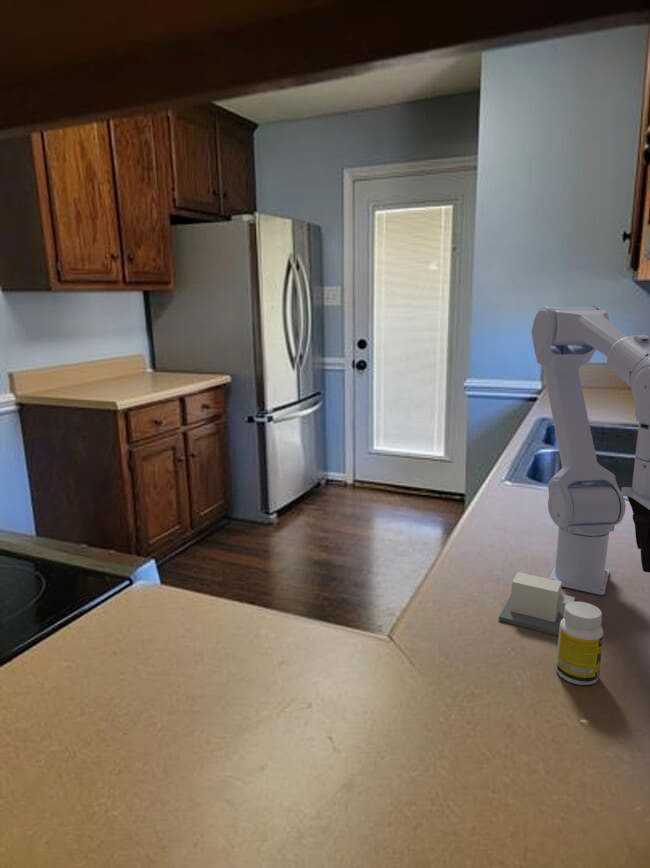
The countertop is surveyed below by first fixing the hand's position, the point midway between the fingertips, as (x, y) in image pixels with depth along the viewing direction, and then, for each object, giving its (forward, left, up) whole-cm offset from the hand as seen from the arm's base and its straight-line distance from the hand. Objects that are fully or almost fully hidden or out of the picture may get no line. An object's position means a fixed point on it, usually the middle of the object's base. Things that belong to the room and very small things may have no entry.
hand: (649, 560), depth 76 cm
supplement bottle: (+14, -6, -11) cm, 18 cm away
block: (+2, -13, -10) cm, 17 cm away
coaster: (+2, -13, -10) cm, 17 cm away
